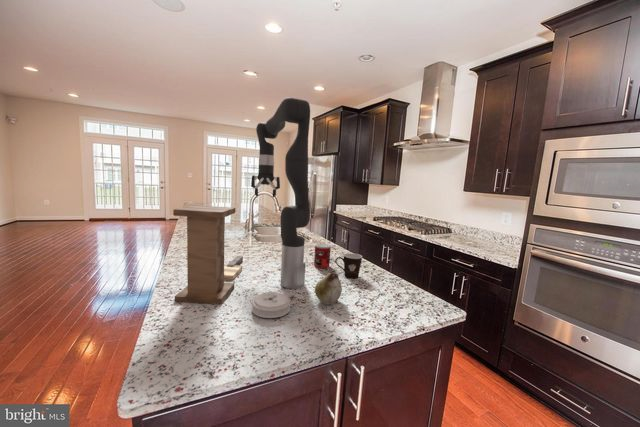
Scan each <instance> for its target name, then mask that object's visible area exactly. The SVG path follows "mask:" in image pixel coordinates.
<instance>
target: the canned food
mask: <svg viewBox="0 0 640 427" xmlns="http://www.w3.org/2000/svg"><path fill="white" fill-rule="evenodd" d="M331 249H332V248H331V244H327V243H316V244H314V256H313V257H314V259H313V260H314V261H313V265H314V267H315V268H318V269H327V268H329V267H330V263H331V262H330V259H331Z"/></svg>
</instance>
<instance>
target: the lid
mask: <svg viewBox="0 0 640 427" xmlns="http://www.w3.org/2000/svg"><path fill="white" fill-rule="evenodd" d="M251 305H252V306H251V311H252V313H253V314H254V315H255V316H257V317H260V318H263V319H264V318H265V319H274V318H275V319H276V318H279V317H283V316H286V315H287V314H288V313H289V312H290V311H291V298H290V297H289V296H287V295H286V294H284V293H282V292H279V291H278V292H277V291H269V292H267V291H266V292H263V293H260V294H258V295H257V296H255V297H254V298H253V300H252V301H251Z"/></svg>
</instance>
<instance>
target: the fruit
mask: <svg viewBox="0 0 640 427" xmlns="http://www.w3.org/2000/svg"><path fill="white" fill-rule="evenodd" d="M342 291H343V287H342V283H341V280H340V278H339V275H338V274H336V273H335V272H329V273H327V275H325V276H324V277H322V278H321V279H320V280H318V282H317V283H316V284H315V287H314V293H315V296H316V299H318V301H319V302H321V303H323V304H324V305H333V304H335V303H336V302H338V300H339V299H340V298H341V296H342Z"/></svg>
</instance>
